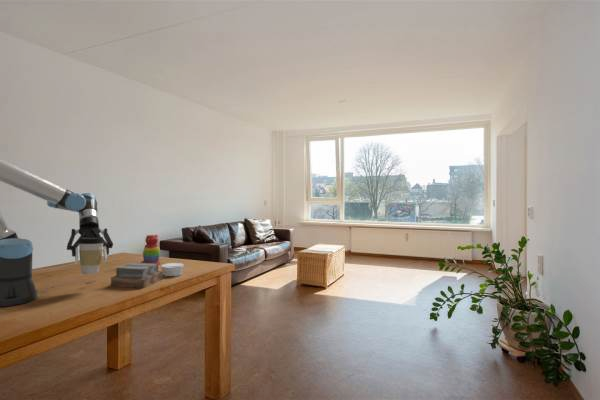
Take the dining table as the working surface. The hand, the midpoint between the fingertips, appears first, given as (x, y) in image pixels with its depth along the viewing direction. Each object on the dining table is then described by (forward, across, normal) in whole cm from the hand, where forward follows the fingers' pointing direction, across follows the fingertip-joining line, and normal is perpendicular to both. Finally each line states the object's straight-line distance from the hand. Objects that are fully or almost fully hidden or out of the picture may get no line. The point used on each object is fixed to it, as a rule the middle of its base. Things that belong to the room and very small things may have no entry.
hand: (91, 261), depth 142 cm
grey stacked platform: (+5, -20, -14) cm, 25 cm away
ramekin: (-1, -38, -19) cm, 43 cm away
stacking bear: (-23, -36, -40) cm, 58 cm away
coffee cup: (+2, 0, -6) cm, 6 cm away
